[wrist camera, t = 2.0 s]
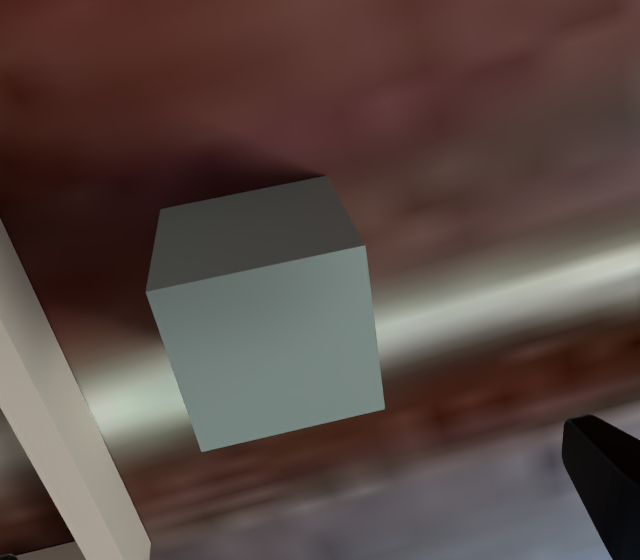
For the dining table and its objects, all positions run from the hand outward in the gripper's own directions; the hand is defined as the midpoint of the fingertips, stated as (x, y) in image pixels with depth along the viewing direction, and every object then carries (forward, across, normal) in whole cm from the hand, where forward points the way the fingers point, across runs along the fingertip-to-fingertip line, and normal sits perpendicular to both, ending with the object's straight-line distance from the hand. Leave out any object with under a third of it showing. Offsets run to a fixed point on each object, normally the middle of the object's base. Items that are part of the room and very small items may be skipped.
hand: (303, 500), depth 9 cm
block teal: (+8, 0, 0) cm, 8 cm away
